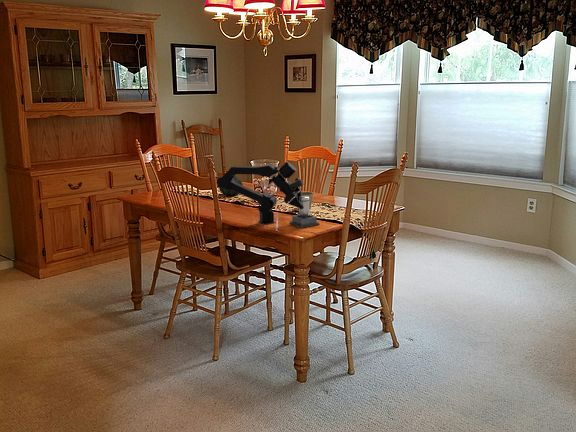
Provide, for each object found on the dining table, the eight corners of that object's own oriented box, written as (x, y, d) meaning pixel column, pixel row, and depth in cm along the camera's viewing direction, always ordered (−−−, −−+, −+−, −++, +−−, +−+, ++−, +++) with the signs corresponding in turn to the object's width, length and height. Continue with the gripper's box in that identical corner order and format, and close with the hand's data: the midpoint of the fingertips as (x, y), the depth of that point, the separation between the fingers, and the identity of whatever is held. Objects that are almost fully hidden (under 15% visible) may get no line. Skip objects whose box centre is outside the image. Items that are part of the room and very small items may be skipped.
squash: (236, 182, 383) (223, 167, 374) (250, 186, 372) (237, 171, 363) (223, 199, 379) (210, 184, 370) (237, 203, 368) (223, 188, 359)
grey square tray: (300, 227, 289) (300, 220, 288) (289, 223, 299) (289, 215, 298) (319, 224, 294) (319, 217, 294) (308, 220, 304) (308, 212, 303)
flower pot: (299, 210, 326) (299, 195, 324) (295, 207, 335) (294, 192, 333) (315, 209, 329) (315, 194, 327) (310, 205, 338) (310, 191, 336)
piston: (301, 223, 293) (301, 198, 290) (297, 221, 298) (297, 196, 295) (310, 222, 295) (310, 197, 292) (307, 220, 299) (307, 195, 296)
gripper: (290, 176, 283) (312, 199, 283) (297, 170, 300) (318, 192, 301) (274, 192, 286) (296, 214, 286) (282, 185, 304) (303, 206, 304)
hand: (304, 206), depth 294 cm, fingers open, 9 cm apart
